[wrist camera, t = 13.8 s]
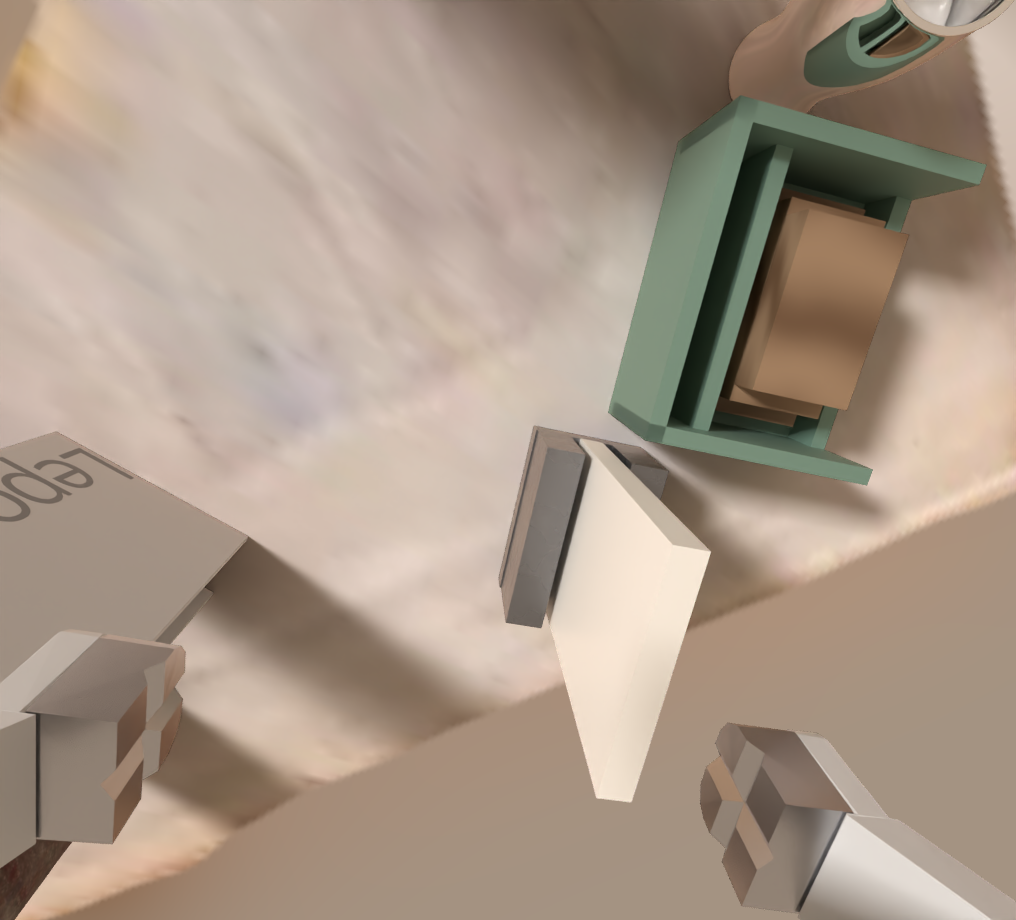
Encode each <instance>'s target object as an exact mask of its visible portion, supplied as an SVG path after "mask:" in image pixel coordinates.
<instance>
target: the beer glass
mask: <svg viewBox="0 0 1016 920" xmlns="http://www.w3.org/2000/svg"><path fill="white" fill-rule="evenodd" d="M1013 2H1014V0H790V2H789V3H788V5H787V6H786V8H785V9H784V10H783V12H782V13H781V14H780V15H779V16H777V17H775V18H773V19H771V20H769V21H767V22H765V23H763V24H761V25H760V26H758V27H757V28H755V29H754V30H753V31H751V32H750V33H749V34H748V35H747V36H746V37H745V38H744V39H743V41H742V42H741V43H740V45H739V47H738V48H737V50H736V52H735V54H734V56H733V59H732V62H731V65H730V70H729V91H730V96H731V99H732V101H734V100H735V99H736V98H738V97H739V96H740V95H742V96H745V97H749V98H752V99H756V100H759V101H763V102H767V103H770V104H774V105H777V106H781V107H784V108H788V109H791V110H795V111H798V112H802V113H805V114H806V113H807V112H808V111H809V110H810V109H811V108H812V107H813V106H814V105H815V104H816V103H817V102H819V101H820V100H823V99H826V98H829V97H833V96H838V95H842V94H847V93H851V92H855V91H859V90H863V89H866V88H869V87H872V86H875V85H878V84H881V83H884V82H887V81H889V80H891V79H894V78H896V77H898V76H900V75H902V74H904V73H906V72H908V71H911V70H913V69H915V68H916V67H918V66H920V65H922V64H923V63H925V62H927V61H929V60H930V59H932V58H934V57H936V56H937V55H939V54H940V53H942V52H944V51H945V50H947V49H948V48H950V47H951V46H953V45H955V44H956V43H958V42H959V41H961V40H962V39H964V38H965V37H967V36H968V35H970V34H971V33H973V32H974V31H976V30H978V29H980V28H982V27H984V26H986V25H987V24H989V23H990V22H992V21H993V20H995V19H996V18H997V17H999V16H1000V15H1001V14H1002V13H1003V12H1004V11H1005V10H1006V9H1007V8H1008V7H1009V6H1010V5H1011V4H1012V3H1013Z"/></svg>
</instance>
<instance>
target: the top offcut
mask: <svg viewBox="0 0 1016 920" xmlns="http://www.w3.org/2000/svg"><path fill="white" fill-rule="evenodd" d="M908 237H909V235H908V234H904V233H900V232H896V231H893V230H889V229H885V228H881V227H877V226H873V225H870V224H866V223H862V222H858V221H854V220H851V219H847V218H843V217H839V216H835V215H832V214H828V213H824V212H820V211H816V210H812V209H807V210H803V211H800V212H796V213H792V214H789V215H786V219H785V222H784V225H783V228H782V232H781V235H780V238H779V241H778V245H777V248H776V251H775V254H774V258H773V261H772V264H771V268H770V271H769V274H768V277H767V281H766V284H765V287H764V290H763V294H762V297H761V300H760V303H759V307H758V310H757V313H756V316H755V320H754V323H753V326H752V329H751V333H750V336H749V339H748V342H747V346H746V349H745V352H744V356H743V359H742V362H741V365H740V369H739V372H738V375H737V378H736V382H735V385H738V386H741V387H745V388H748V389H751V390H755V391H760V392H764V393H769V394H774V395H778V396H783V397H787V398H792V399H796V400H801V401H806V402H810V403H815V404H819V405H824V406H828V407H833V408H837V409H842V410H847V409H848V406H849V403H850V400H851V397H852V395H853V392H854V389H855V386H856V383H857V380H858V378H859V375H860V372H861V369H862V366H863V364H864V361H865V358H866V355H867V352H868V349H869V347H870V344H871V341H872V338H873V335H874V333H875V330H876V327H877V324H878V321H879V318H880V316H881V313H882V310H883V307H884V304H885V302H886V299H887V296H888V293H889V290H890V287H891V285H892V282H893V279H894V276H895V273H896V270H897V268H898V265H899V262H900V259H901V256H902V254H903V251H904V248H905V245H906V242H907V239H908Z"/></svg>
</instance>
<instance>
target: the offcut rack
mask: <svg viewBox="0 0 1016 920" xmlns="http://www.w3.org/2000/svg"><path fill="white" fill-rule="evenodd" d="M986 166H987V165H986V164H982V163H979V162H975V161H971V160H968V159H964V158H961V157H957V156H954V155H950V154H947V153H943V152H940V151H936V150H933V149H929V148H926V147H922V146H918V145H915V144H911V143H908V142H904V141H901V140H897V139H894V138H890V137H887V136H883V135H880V134H876V133H873V132H869V131H865V130H862V129H858V128H855V127H851V126H848V125H844V124H841V123H837V122H834V121H830V120H827V119H823V118H820V117H816V116H812V115H809V114H805V113H802V112H798V111H795V110H791V109H788V108H784V107H781V106H777V105H774V104H770V103H767V102H763V101H759V100H756V99H752V98H749V97H745V96H742V95H740V96H739V97H738V98H736V99H735V100H734V101H732V102H731V103H730V104H728V105H727V106H726V107H724V108H723V109H722V110H720V111H719V112H717V113H716V114H715V115H713V116H712V117H711V118H709V119H708V120H707V121H705V122H704V123H703V124H701V125H700V126H699V127H697V128H696V129H695V130H693V131H692V132H691V133H689V134H688V135H687V136H685V137H684V138H683V139H681V140H680V141H679V142H678V145H677V149H676V153H675V157H674V161H673V165H672V168H671V172H670V176H669V180H668V184H667V188H666V191H665V195H664V199H663V203H662V207H661V211H660V215H659V218H658V222H657V226H656V230H655V234H654V238H653V242H652V245H651V249H650V253H649V257H648V261H647V265H646V268H645V272H644V276H643V280H642V284H641V288H640V292H639V295H638V299H637V303H636V307H635V311H634V315H633V319H632V322H631V326H630V330H629V334H628V338H627V342H626V345H625V349H624V353H623V357H622V361H621V365H620V369H619V372H618V376H617V380H616V384H615V388H614V392H613V395H612V399H611V403H610V407H609V411H608V413H610V414H611V415H612V416H614V417H615V418H616V419H618V420H619V421H620V422H621V423H623V424H624V425H625V426H627V427H628V428H629V429H631V430H632V431H633V432H635V433H636V434H637V435H639V436H640V437H641V438H643V439H644V440H646V441H651V442H656V443H661V444H666V445H671V446H676V447H681V448H685V449H690V450H695V451H700V452H705V453H710V454H715V455H720V456H725V457H730V458H735V459H740V460H744V461H749V462H754V463H759V464H764V465H769V466H774V467H779V468H784V469H789V470H794V471H799V472H803V473H808V474H813V475H818V476H823V477H828V478H833V479H838V480H843V481H848V482H853V483H858V484H862V485H867V484H868V481H869V479H870V476H871V473H872V471H873V469H870V468H868V467H865V466H863V465H860V464H858V463H856V462H853V461H851V460H848V459H846V458H843V457H841V456H838V455H836V454H833V453H831V452H829V451H826V450H824V449H825V446H826V443H827V440H828V437H829V434H830V431H831V429H832V426H833V423H834V420H835V417H836V414H837V412H838V409H837V408H833V407H828V406H824V405H823V406H822V409H821V412H820V415H819V418H818V419H814V418H810V417H805V416H800V415H797V416H796V419H795V422H794V425H793V427H791V426H786V425H781V424H777V423H772V422H767V421H763V420H758V419H753V418H748V417H744V416H739V415H734V414H730V413H725V412H720V411H716V410H715V408H716V405H717V401H718V398H719V395H720V391H721V388H722V385H723V381H724V378H725V375H726V371H727V368H728V365H729V361H730V358H731V355H732V352H733V348H734V345H735V342H736V338H737V335H738V332H739V328H740V325H741V322H742V318H743V315H744V312H745V309H746V305H747V302H748V299H749V295H750V292H751V289H752V285H753V282H754V279H755V275H756V272H757V269H758V265H759V262H760V259H761V256H762V252H763V249H764V246H765V242H766V239H767V236H768V232H769V229H770V226H771V222H772V219H773V216H774V213H775V209H776V206H777V203H778V199H779V196H780V193H781V189H782V188H785V189H789V190H793V191H797V192H800V193H804V194H808V195H812V196H815V197H819V198H823V199H827V200H830V201H834V202H838V203H842V204H846V205H849V206H853V207H857V208H861V209H864V210H865V213H864V216H867V217H871V218H874V219H878V220H882V221H886V223H885V226H884V228H885V229H889V230H893V231H896V232H901V229H902V226H903V224H904V221H905V218H906V215H907V212H908V209H909V207H910V204H911V201H912V200H915V199H919V198H924V197H928V196H933V195H937V194H941V193H946V192H950V191H955V190H959V189H963V188H968V187H972V186H977V185H979V184H980V182H981V179H982V176H983V174H984V171H985V168H986Z"/></svg>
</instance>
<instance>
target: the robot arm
mask: <svg viewBox="0 0 1016 920" xmlns="http://www.w3.org/2000/svg"><path fill="white" fill-rule="evenodd" d="M185 657H186V652H185V650H184V649H183V647H182V646H179V645H172V644H166V643H160V642H154V641H148V640H141V639H135V638H129V637H123V636H117V635H111V634H108V635H106V634H103V633H96V632H89V631H82V630H76V629H68V630H64V631H60V632H59V633H57V634H56V635H55V636H54V637H53V638H52V639H50V640H49V641H48V642H47V643H46V644H45V645H44V646H42V647H41V648H40V649H39V650H38V651H37V652H36V653H34V654H33V655H32V656H31V657H30V658H29V659H28V660H26V661H25V662H24V663H23V664H22V665H21V666H20V667H18V668H17V669H16V670H15V671H14V672H13V673H11V674H10V675H9V676H8V677H7V678H6V679H5V680H3V681H2V682H1V683H0V868H1V867H3V866H4V865H6V864H7V863H9V862H10V861H11V860H13V859H14V858H16V857H17V856H19V855H20V854H21V853H23V852H24V851H26V850H27V849H29V848H30V847H32V846H33V845H34V844H36V839H42V840H57V841H71V842H86V843H100V844H113V843H114V841H115V839H116V838H117V836H118V835H119V833H120V831H121V830H122V828H123V827H124V825H125V823H126V822H127V820H128V819H129V817H130V815H131V814H132V812H133V811H134V809H135V808H136V806H137V804H138V803H139V801H140V800H141V791H142V780H143V779H145V778H147V777H149V776H150V775H152V774H154V773H155V772H157V771H158V770H159V769H160V767H161V765H162V764H163V762H164V760H165V759H166V757H167V755H168V754H169V751H170V749H171V746H172V744H173V741H174V739H175V736H176V734H177V731H178V727H179V722H180V718H181V713H182V702H183V698H182V697H181V695H180V694H179V693H178V691H177V690H176V688H175V686H176V684H177V683H178V681H179V680H180V678H181V677H182V675H183V674H184V673H185ZM715 744H716V747H717V749H718V752H719V755H720V756H719V757H718V758H716V759H715V760H714V761H713V762H711V763H710V764H709V765H707V767H706V769H705V772H704V775H703V778H702V781H701V785H700V786H701V787H700V805H701V810H702V814H703V819H704V821H705V823H706V826H707V828H708V831H709V833H710V834H711V835H712V836H713V837H714V838H715V839H716V840H717V841H718V842H720V844H721V845H722V846H723V847H724V848H725V852H724V856H723V859H722V863H723V865H724V867H725V870H726V872H727V874H728V876H729V879H730V881H731V883H732V885H733V888H734V890H735V892H736V894H737V897H738V899H739V901H740V904H741V906H743V907H751V908H759V909H767V910H774V911H781V912H790V913H797V914H799V915H798V918H799V919H800V920H1016V901H1014V900H1013V899H1012V898H1010V897H1008V896H1007V895H1006V894H1004V893H1003V892H1002V891H1000V890H999V889H997V888H996V887H994V886H993V885H991V884H990V883H988V882H987V881H986V880H984V879H983V878H982V877H980V876H979V875H977V874H976V873H974V872H973V871H971V870H970V869H968V868H967V867H966V866H964V865H963V864H961V863H960V862H958V861H957V860H956V859H954V858H953V857H951V856H950V855H949V854H947V853H946V852H944V851H943V850H941V849H940V848H939V847H937V846H936V845H934V844H933V843H931V842H930V841H928V840H927V839H926V838H924V837H922V836H921V835H920V834H918V833H917V832H916V831H914V830H913V829H911V828H910V827H908V826H907V825H906V824H904V823H903V822H901V821H900V820H896V819H889V818H888V816H887V815H886V814H885V812H884V811H883V810H882V809H881V807H880V806H879V805H878V803H877V802H876V801H875V800H874V798H873V797H872V796H871V795H870V793H869V792H868V791H867V790H866V788H865V787H864V786H863V784H862V783H861V782H860V781H859V779H858V778H857V777H856V775H855V774H854V773H853V772H852V770H851V769H850V768H849V767H848V765H847V764H846V763H845V761H844V760H843V759H842V758H841V756H840V755H839V754H838V753H837V751H836V750H835V749H834V748H833V746H832V745H831V744H830V742H829V741H828V740H827V739H826V738H824V737H823V736H821V735H820V734H818V733H814V732H805V731H796V730H786V731H785V730H778V729H771V728H762V727H756V726H748V725H740V724H733V723H727V724H726V725H725V726H724V727H723V728H722V729H721V730H720V732H719V735H718V737H717V740H716V742H715Z"/></svg>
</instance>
